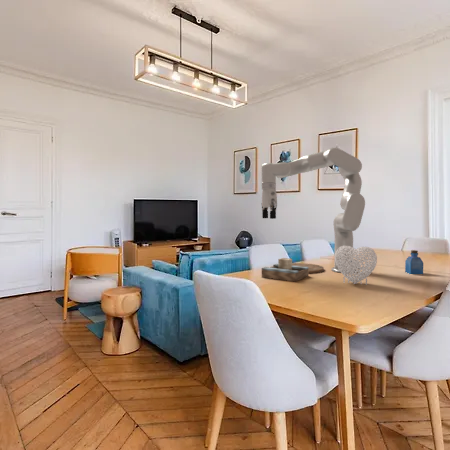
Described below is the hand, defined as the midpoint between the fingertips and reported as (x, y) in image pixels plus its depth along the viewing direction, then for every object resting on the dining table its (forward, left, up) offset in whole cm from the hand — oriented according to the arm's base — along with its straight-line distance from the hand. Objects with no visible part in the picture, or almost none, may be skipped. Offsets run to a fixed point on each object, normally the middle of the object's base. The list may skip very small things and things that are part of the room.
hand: (269, 218), depth 180 cm
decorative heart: (-46, +3, -29) cm, 55 cm away
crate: (-13, +7, -29) cm, 33 cm away
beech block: (-13, +7, -29) cm, 33 cm away
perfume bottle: (-64, -39, -29) cm, 81 cm away
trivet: (-11, -16, -30) cm, 36 cm away
